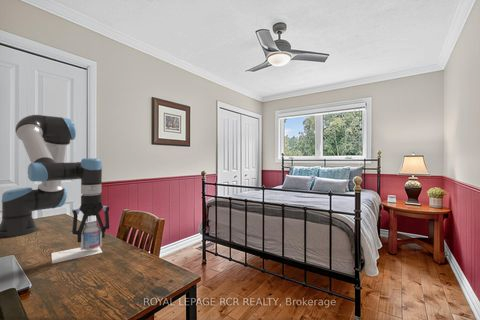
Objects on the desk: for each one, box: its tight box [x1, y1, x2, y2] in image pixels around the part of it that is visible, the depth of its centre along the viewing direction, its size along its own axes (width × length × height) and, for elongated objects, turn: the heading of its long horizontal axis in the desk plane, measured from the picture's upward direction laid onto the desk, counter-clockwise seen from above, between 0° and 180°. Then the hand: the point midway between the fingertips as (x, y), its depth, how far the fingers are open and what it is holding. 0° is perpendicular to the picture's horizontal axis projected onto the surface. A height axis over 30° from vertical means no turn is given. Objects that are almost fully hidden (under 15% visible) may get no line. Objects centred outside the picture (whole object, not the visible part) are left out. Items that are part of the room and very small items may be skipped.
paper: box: [51, 246, 103, 264], centre depth 100 cm, size 12×17×1 cm
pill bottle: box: [82, 220, 101, 250], centre depth 102 cm, size 6×6×11 cm
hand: (91, 247), depth 102 cm, fingers closed on pill bottle, 6 cm apart
